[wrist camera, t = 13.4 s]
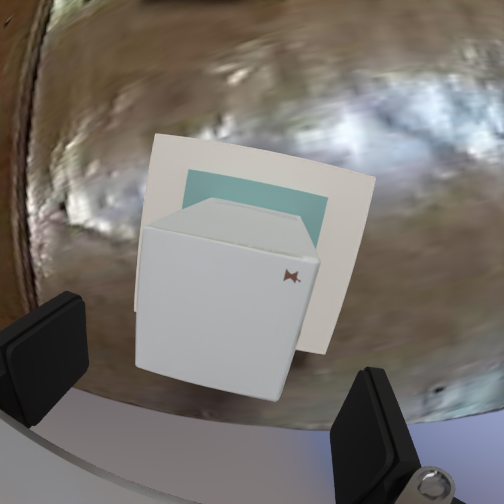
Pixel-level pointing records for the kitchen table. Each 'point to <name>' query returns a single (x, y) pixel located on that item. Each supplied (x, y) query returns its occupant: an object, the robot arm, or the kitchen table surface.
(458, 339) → the kitchen table surface
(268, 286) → the supplement box
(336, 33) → the kitchen table surface
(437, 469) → the robot arm
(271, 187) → the stand
